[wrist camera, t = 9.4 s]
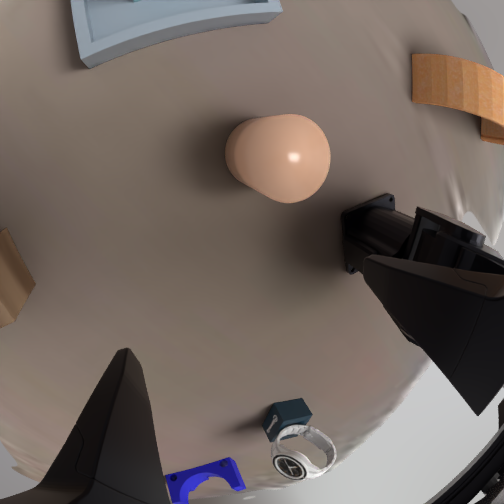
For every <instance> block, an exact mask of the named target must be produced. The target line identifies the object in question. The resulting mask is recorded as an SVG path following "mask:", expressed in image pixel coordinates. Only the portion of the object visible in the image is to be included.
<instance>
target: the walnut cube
mask: <svg viewBox="0 0 504 504" xmlns="http://www.w3.org/2000/svg"><path fill="white" fill-rule="evenodd" d="M35 285H36V283H35V282H34V280H33V278H32V276H31V275H30V273H29V271H28V269H27V268H26V266H25V264H24V262H23V260H22V258H21V256H20V254H19V252H18V250H17V248H16V246H15V244H14V242H13V240H12V238H11V236H10V234H9V232H8V229H7V228H5V229H4V230H2V231H1V232H0V328H2V327H4V326H6V325H8V324H10V323H12V322H15V320H16V318H17V316H18V314H19V312H20V311H21V309H22V307H23V305H24V303H25V302H26V300H27V298H28V296H29V295H30V293H31V291H32V290H33V288H34V286H35Z"/></svg>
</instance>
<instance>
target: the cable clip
mask: <svg viewBox="0 0 504 504" xmlns="http://www.w3.org/2000/svg"><path fill="white" fill-rule="evenodd" d="M227 464H228V465H227ZM226 465H227V466H226ZM165 476H166V480H167V484H168V488H169V492H170V496H171V500H172V503H174V504H189V503H188V494H189V492H190V491H194V490H195V488H196V487H197V486H198V485H199V484H200V483H202V482H203V481H205V480H208V479H209V478H208V477H212V476H215V477H221V478H224V479H225V480H226V481H227V482H228V483H229V484H230V486H231V488H232V489H234V490H236V491H240V490H243V489H246V487H245V484H244V482H243V480H242V477H241V475H240V473H239V470H238V468H237V465H236V463H235V461H234V460H232V459H231V458H230V457H228V458H225V459H222V460H219V461H216V462H213V463H209V464H206V465H203V466H199V467H196V468H192V469H189V470H185V471H181V472H177V473H173V474H168V475H165Z"/></svg>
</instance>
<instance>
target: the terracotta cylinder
mask: <svg viewBox="0 0 504 504" xmlns="http://www.w3.org/2000/svg"><path fill="white" fill-rule="evenodd" d="M225 159H226V164H227V166H228V169H229V170H230V172H231V173H232V175H233V176H234V177H235V178H236V179H237V180H238V181H240V182H242V183H243V184H245V185H247V186H249V187H251V188H253V189H254V190H256V191H258V192H260V193H262V194H263V195H265V196H267V197H269V198H271V199H273V200H275V201H278V202H282V203H295V202H299V201H302V200H304V199H307V198H308V197H310V196H311V195H313V194H314V193H315V192H316V191H317V190H318V189H319V188H320V187H321V185H322V184H323V182H324V181H325V179H326V176H327V174H328V171H329V166H330V148H329V144H328V141H327V139H326V137H325V135H324V133H323V131H322V130H321V129H320V128H319V126H318V125H317V124H315V123H314V122H313V121H311V120H310V119H308V118H306V117H304V116H301V115H296V114H284V115H276V116H268V117H260V118H254V119H249V120H246V121H244V122H242V123H241V124H239V125H238V126H237V127H236V128H235V129H234V130H233V131H232V132H231V134H230V135H229V138H228V140H227V143H226V147H225Z"/></svg>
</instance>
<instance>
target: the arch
mask: <svg viewBox="0 0 504 504" xmlns="http://www.w3.org/2000/svg"><path fill="white" fill-rule="evenodd" d="M412 80H413V87H412V102H416V103H422V104H431V105H438V106H443V107H449V108H453V109H457V110H461V111H465V112H468V113H471V114H474V115H477V116H480V117H481V139H482V140H483V141H487V142H491V143H496V144H501V145H504V76H503V75H501V74H499V73H497V72H496V71H494V70H492V69H490V68H487V67H485V66H483V65H480V64H478V63H475V62H472V61H468V60H465V59H462V58H457V57H452V56H447V55H438V54H412Z"/></svg>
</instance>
